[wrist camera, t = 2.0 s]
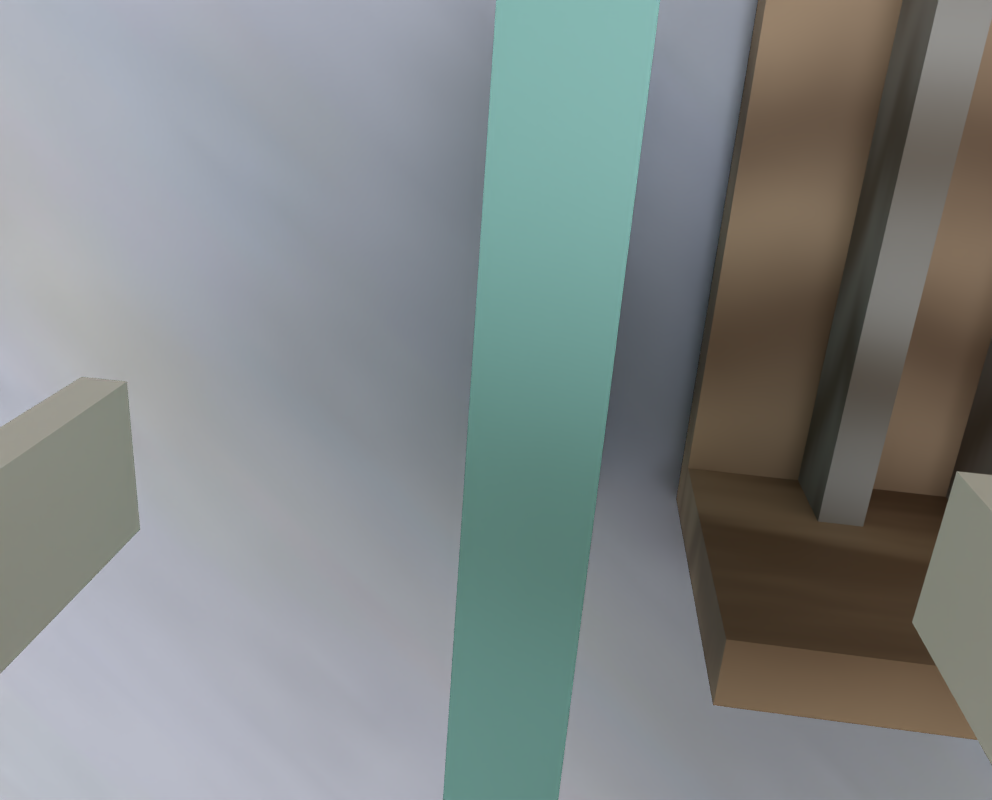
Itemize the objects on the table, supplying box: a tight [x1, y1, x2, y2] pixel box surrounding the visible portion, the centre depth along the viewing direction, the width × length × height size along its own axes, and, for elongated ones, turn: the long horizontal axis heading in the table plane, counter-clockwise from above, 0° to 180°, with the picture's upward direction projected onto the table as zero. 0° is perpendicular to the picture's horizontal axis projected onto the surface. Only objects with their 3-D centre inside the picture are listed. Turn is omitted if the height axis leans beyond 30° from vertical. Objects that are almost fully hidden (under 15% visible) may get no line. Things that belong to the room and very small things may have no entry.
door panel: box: [443, 0, 660, 800], centre depth 23 cm, size 16×2×16 cm, turn 176°
